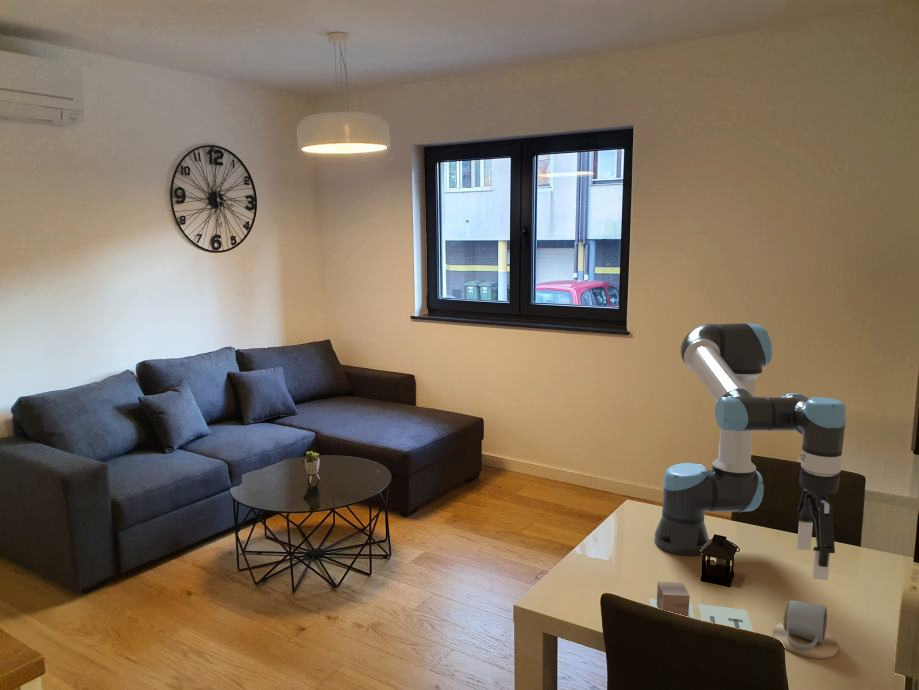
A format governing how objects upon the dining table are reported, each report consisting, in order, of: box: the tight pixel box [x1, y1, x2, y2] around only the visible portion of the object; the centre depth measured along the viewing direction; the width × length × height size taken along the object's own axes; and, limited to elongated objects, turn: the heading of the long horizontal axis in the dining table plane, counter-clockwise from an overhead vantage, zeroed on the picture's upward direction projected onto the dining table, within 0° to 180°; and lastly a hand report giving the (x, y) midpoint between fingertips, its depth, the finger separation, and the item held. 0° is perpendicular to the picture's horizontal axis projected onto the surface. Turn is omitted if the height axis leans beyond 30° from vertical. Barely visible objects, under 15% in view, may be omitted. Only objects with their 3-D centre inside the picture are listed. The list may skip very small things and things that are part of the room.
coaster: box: [772, 622, 839, 660], centre depth 150 cm, size 13×13×1 cm
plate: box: [649, 597, 696, 619], centre depth 162 cm, size 10×10×1 cm
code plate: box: [698, 603, 755, 633], centre depth 157 cm, size 14×11×1 cm
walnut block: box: [656, 581, 690, 616], centre depth 161 cm, size 6×6×6 cm
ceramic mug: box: [782, 600, 828, 651], centre depth 149 cm, size 11×8×8 cm
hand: (811, 563), depth 147 cm, fingers open, 13 cm apart
